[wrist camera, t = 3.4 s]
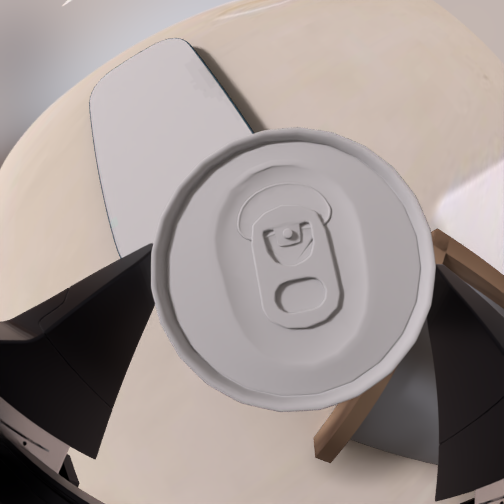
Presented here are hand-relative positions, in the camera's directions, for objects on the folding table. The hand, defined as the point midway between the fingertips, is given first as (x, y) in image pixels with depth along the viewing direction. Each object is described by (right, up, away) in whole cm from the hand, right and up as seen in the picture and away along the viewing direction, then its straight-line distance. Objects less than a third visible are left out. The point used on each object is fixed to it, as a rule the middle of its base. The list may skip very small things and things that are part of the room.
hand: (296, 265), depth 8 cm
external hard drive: (-8, +10, +12) cm, 17 cm away
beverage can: (+1, -2, +7) cm, 8 cm away
